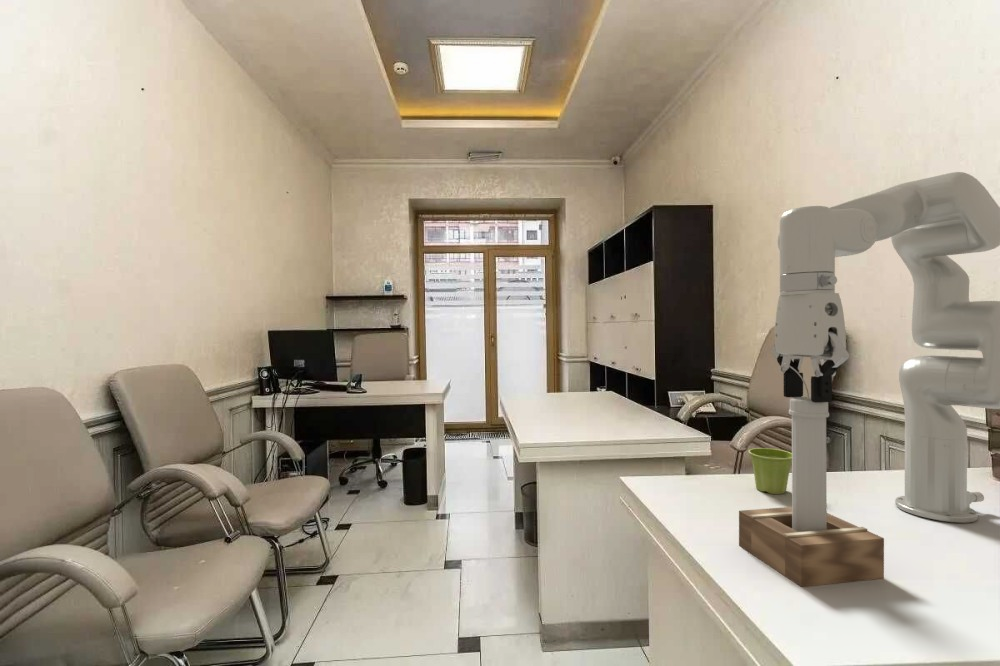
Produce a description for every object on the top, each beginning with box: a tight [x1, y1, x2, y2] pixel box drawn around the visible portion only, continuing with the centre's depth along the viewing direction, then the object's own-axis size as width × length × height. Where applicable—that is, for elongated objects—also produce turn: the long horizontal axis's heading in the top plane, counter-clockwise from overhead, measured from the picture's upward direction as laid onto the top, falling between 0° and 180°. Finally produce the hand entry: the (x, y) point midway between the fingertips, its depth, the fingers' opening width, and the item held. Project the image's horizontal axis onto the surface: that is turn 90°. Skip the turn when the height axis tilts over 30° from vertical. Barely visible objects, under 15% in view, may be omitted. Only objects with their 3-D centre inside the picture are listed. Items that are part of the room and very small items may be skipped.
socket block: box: [738, 506, 885, 588], centre depth 80 cm, size 14×14×6 cm
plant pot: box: [747, 447, 792, 495], centre depth 115 cm, size 9×9×9 cm
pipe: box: [785, 363, 830, 532], centre depth 80 cm, size 6×6×30 cm
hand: (806, 398), depth 80 cm, fingers closed on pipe, 5 cm apart
